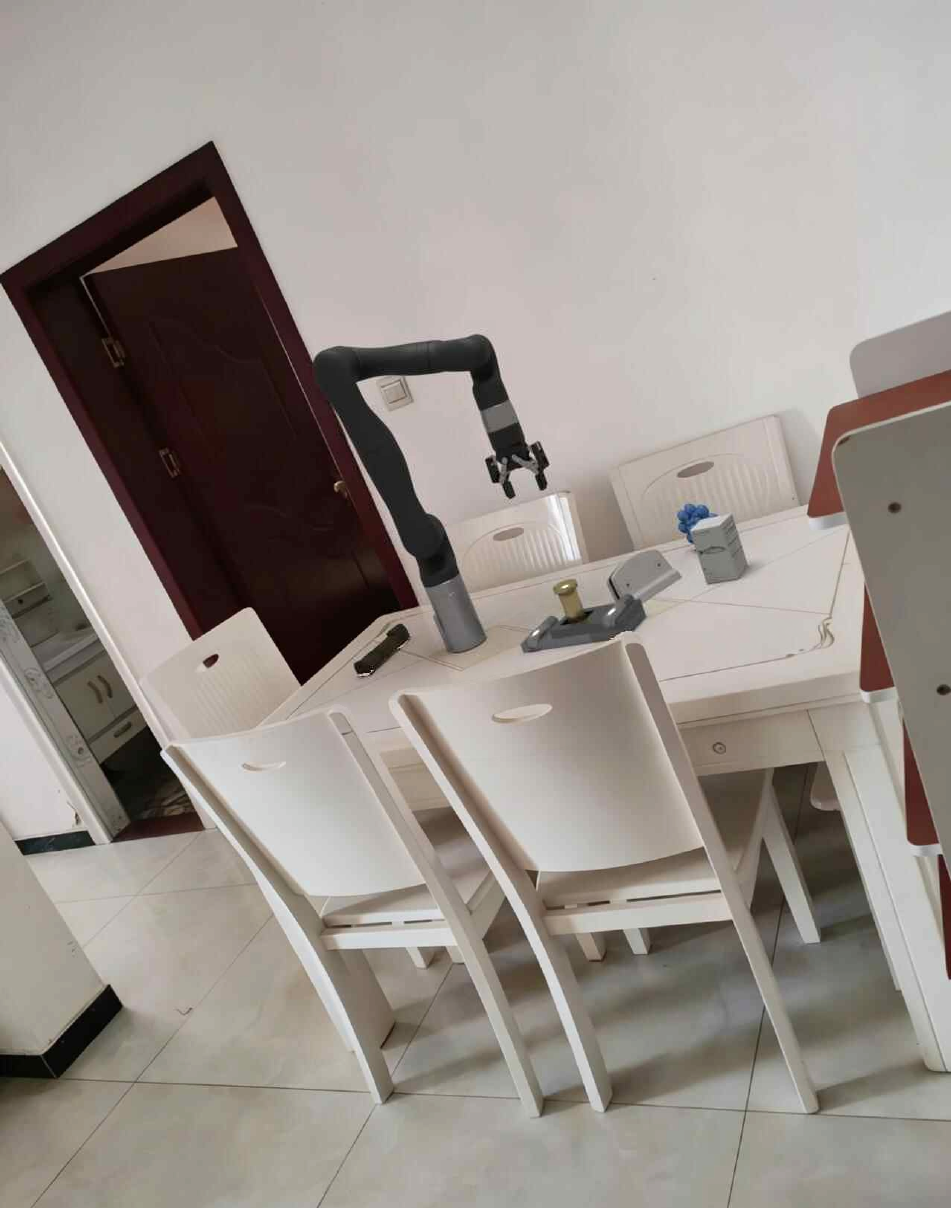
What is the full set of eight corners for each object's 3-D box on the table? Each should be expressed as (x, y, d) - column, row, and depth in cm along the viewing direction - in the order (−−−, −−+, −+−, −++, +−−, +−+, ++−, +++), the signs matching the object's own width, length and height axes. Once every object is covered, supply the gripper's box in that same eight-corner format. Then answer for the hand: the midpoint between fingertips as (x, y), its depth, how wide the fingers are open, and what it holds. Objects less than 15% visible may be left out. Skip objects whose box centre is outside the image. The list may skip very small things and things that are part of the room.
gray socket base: (522, 653, 206) (513, 631, 205) (545, 631, 215) (536, 609, 213) (626, 638, 191) (618, 613, 189) (647, 614, 199) (638, 591, 198)
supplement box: (706, 585, 202) (687, 531, 199) (718, 571, 208) (700, 518, 205) (738, 580, 198) (720, 524, 194) (749, 566, 203) (732, 511, 200)
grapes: (678, 559, 227) (662, 513, 224) (692, 548, 231) (676, 502, 228) (721, 553, 219) (705, 505, 216) (734, 542, 223) (718, 495, 220)
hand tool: (372, 677, 234) (363, 657, 232) (358, 679, 237) (349, 659, 235) (420, 637, 251) (412, 618, 250) (406, 639, 254) (398, 621, 253)
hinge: (633, 609, 206) (608, 570, 206) (621, 615, 210) (597, 577, 210) (683, 576, 214) (659, 538, 214) (671, 582, 218) (648, 546, 218)
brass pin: (567, 641, 202) (548, 591, 199) (578, 630, 206) (559, 581, 203) (588, 638, 199) (569, 587, 196) (598, 627, 203) (579, 577, 200)
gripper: (467, 438, 208) (494, 506, 212) (520, 421, 199) (547, 492, 203) (484, 428, 214) (510, 495, 218) (536, 411, 205) (562, 481, 209)
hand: (528, 493), depth 210 cm, fingers open, 8 cm apart
